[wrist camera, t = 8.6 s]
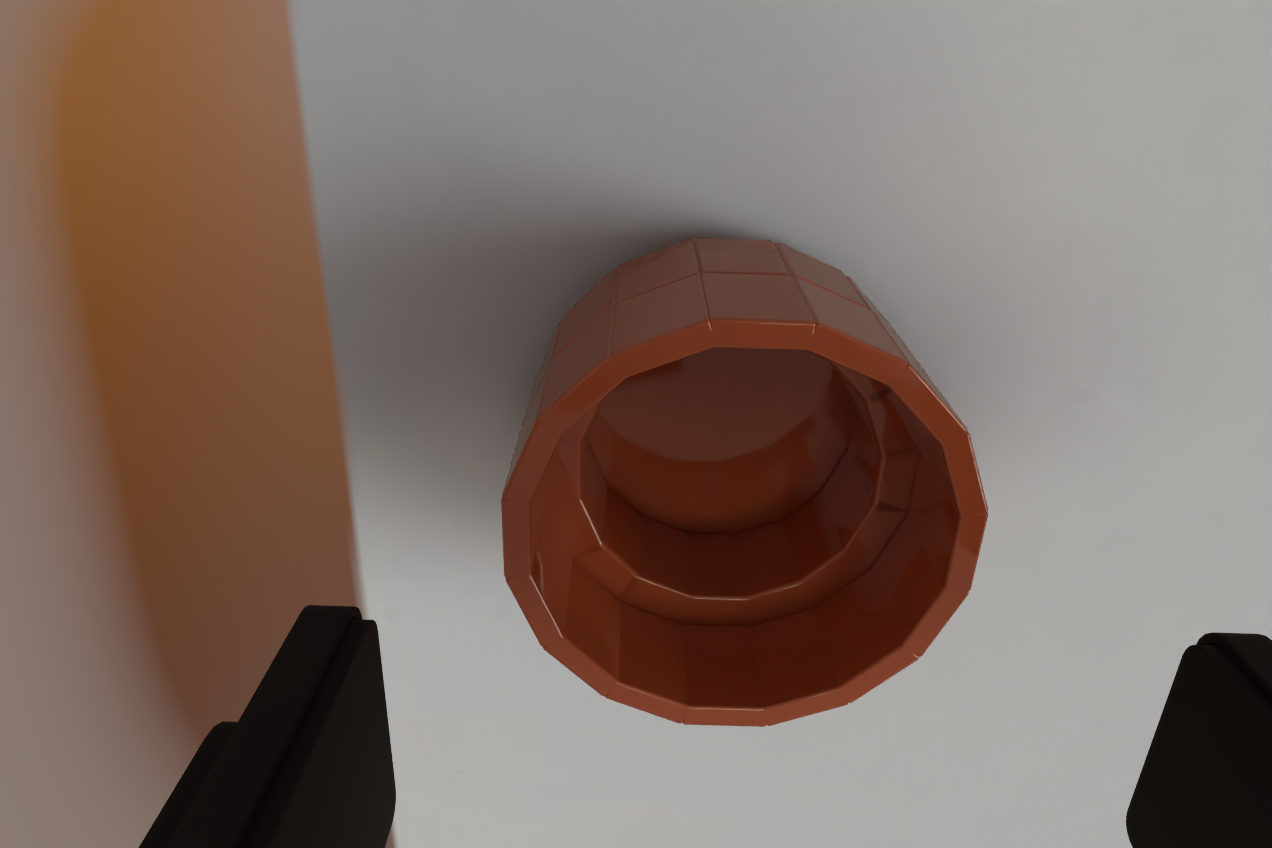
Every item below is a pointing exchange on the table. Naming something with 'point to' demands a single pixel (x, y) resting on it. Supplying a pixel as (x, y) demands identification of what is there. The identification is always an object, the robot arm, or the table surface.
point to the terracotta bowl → (737, 490)
